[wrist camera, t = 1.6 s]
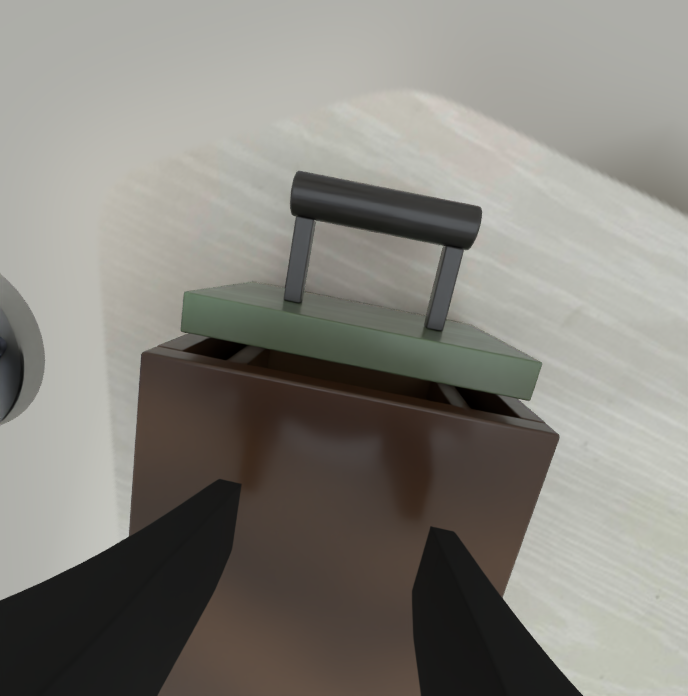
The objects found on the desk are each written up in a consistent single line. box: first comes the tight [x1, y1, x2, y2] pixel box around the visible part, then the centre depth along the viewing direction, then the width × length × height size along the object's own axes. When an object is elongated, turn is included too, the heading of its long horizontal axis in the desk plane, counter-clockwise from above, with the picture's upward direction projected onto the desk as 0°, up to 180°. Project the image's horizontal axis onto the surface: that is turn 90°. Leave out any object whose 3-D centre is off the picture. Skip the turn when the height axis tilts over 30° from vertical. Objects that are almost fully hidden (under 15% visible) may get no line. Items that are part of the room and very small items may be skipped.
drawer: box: [181, 171, 542, 409], centre depth 14 cm, size 16×10×7 cm, turn 169°
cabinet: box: [129, 333, 559, 696], centre depth 15 cm, size 13×12×9 cm
